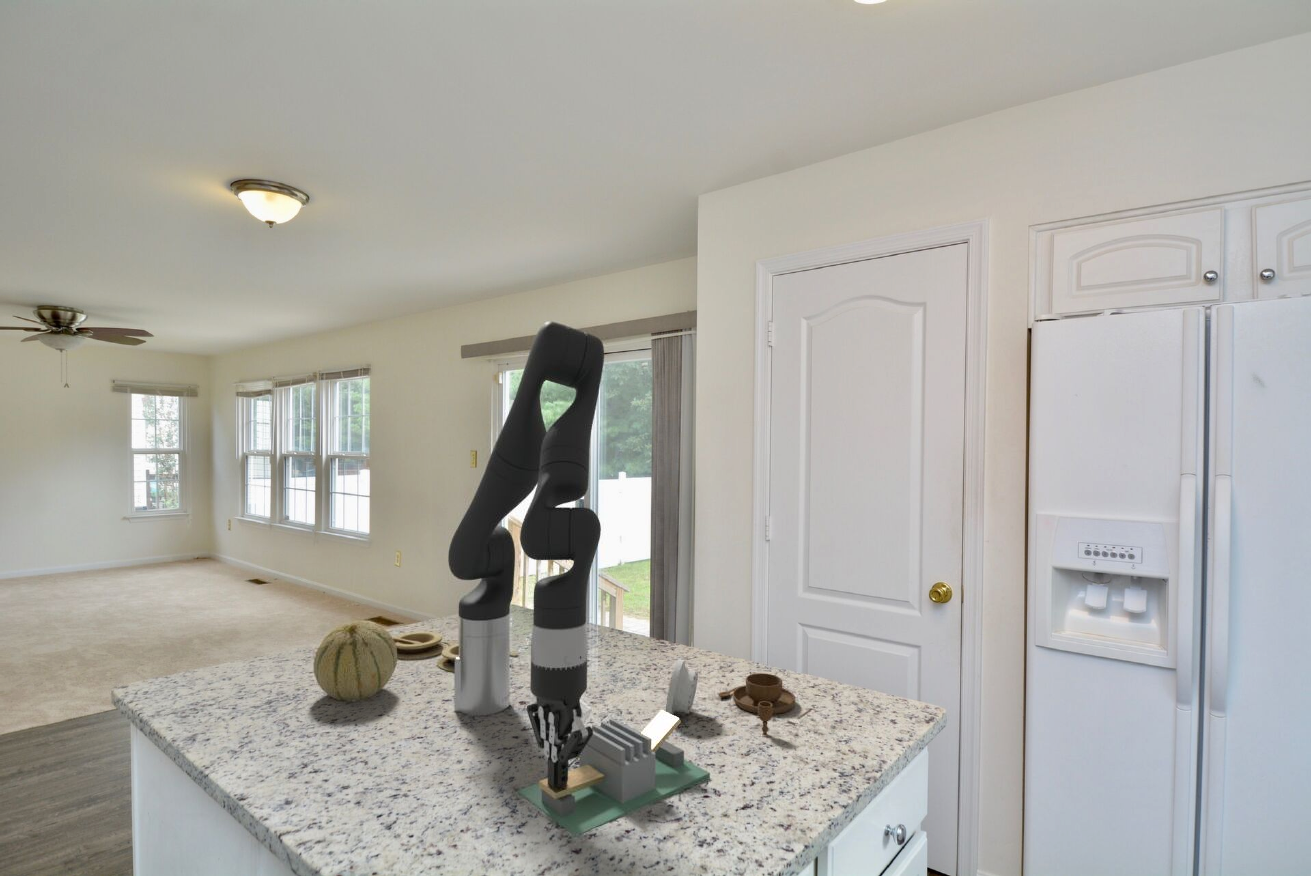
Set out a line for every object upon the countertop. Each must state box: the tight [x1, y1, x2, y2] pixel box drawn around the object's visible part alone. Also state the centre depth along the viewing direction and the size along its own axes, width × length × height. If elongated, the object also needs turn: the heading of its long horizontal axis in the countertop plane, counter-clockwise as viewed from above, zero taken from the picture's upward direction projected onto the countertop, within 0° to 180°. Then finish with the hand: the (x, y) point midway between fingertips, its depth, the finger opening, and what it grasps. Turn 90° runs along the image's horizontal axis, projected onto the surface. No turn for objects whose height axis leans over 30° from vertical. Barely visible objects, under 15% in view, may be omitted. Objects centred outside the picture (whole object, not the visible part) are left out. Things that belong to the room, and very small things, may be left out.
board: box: [517, 717, 711, 837], centre depth 99 cm, size 24×14×8 cm, turn 131°
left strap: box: [538, 765, 605, 799], centre depth 94 cm, size 8×4×1 cm, turn 131°
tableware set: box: [391, 630, 519, 673], centre depth 157 cm, size 30×20×6 cm, turn 62°
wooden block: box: [640, 709, 682, 753], centre depth 104 cm, size 8×4×1 cm, turn 131°
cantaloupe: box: [313, 620, 398, 702], centre depth 132 cm, size 15×15×15 cm
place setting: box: [718, 672, 814, 736], centre depth 129 cm, size 18×20×6 cm
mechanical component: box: [665, 658, 699, 716], centre depth 125 cm, size 10×4×10 cm, turn 168°
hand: (557, 785), depth 92 cm, fingers closed
